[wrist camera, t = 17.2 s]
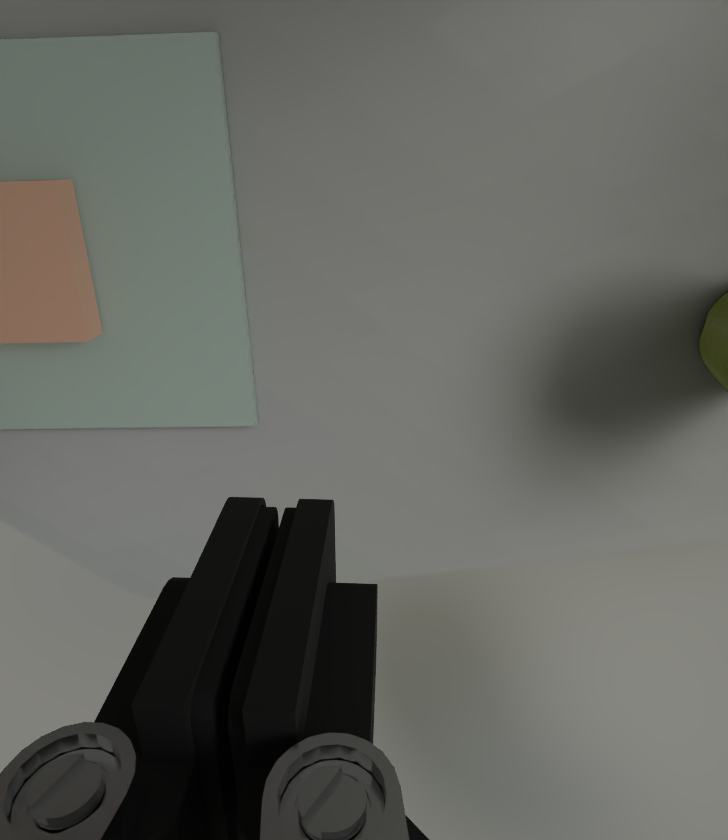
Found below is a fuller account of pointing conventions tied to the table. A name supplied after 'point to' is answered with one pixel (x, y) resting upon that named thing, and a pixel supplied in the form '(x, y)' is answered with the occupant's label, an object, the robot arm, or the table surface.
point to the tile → (44, 265)
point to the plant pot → (716, 341)
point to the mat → (133, 231)
